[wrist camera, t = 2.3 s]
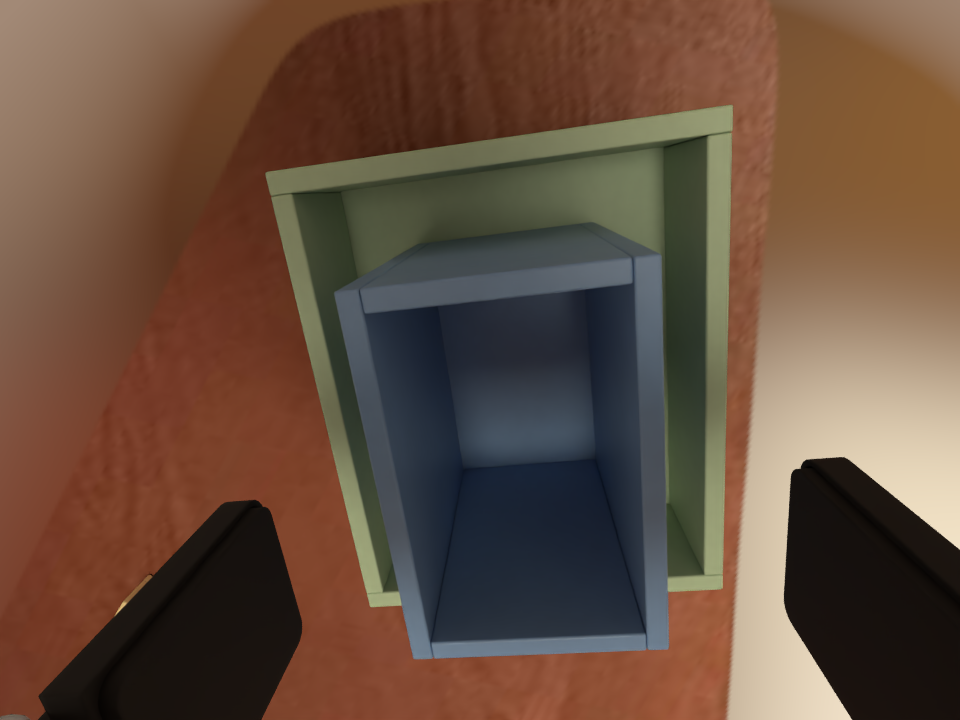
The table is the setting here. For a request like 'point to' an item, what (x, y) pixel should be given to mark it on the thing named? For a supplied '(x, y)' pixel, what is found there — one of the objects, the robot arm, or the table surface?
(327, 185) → the green bin
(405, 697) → the table surface
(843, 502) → the robot arm
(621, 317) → the blue bin
